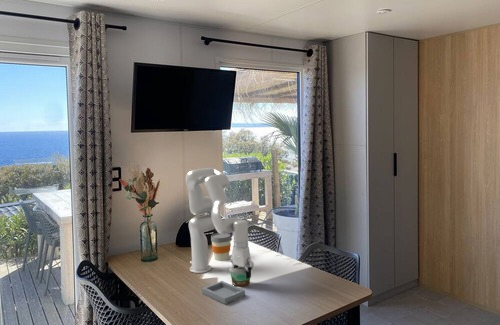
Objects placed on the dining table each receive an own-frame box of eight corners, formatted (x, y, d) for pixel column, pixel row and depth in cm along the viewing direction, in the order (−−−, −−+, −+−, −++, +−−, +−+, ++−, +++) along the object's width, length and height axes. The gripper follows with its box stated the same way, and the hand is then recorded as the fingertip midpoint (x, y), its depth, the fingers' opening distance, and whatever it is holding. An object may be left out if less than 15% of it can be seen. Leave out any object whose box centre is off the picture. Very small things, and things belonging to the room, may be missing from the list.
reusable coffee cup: (209, 257, 262) (208, 234, 261) (227, 254, 267) (226, 231, 266) (215, 263, 251) (214, 239, 249) (234, 259, 256) (233, 236, 255)
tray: (202, 293, 206) (201, 288, 206) (222, 286, 215) (222, 280, 214) (224, 304, 193) (224, 298, 192) (245, 296, 202) (244, 290, 201)
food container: (232, 289, 210) (231, 270, 209) (229, 285, 216) (228, 266, 215) (255, 286, 214) (254, 267, 213) (251, 281, 220) (251, 263, 219)
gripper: (225, 242, 217) (226, 273, 218) (246, 248, 204) (248, 281, 205) (235, 239, 222) (236, 269, 223) (257, 245, 209) (258, 277, 210)
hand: (242, 275), depth 214 cm, fingers open, 9 cm apart
